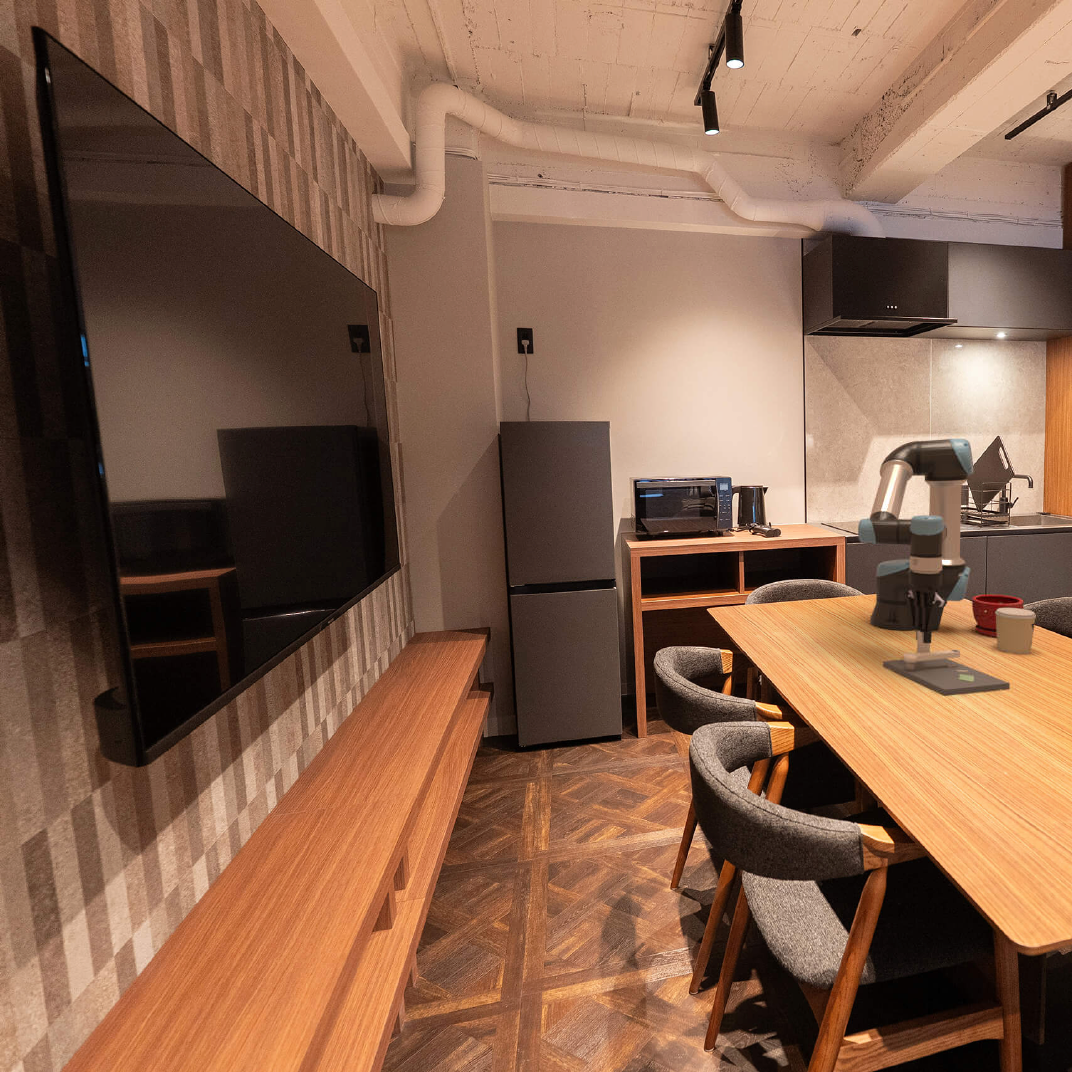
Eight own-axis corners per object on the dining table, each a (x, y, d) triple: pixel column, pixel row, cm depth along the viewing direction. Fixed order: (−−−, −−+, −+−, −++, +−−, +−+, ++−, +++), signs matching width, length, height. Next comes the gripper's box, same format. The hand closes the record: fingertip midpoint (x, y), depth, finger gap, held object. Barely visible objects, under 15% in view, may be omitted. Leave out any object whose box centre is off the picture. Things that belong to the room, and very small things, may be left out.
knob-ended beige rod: (909, 663, 156) (909, 657, 156) (900, 659, 159) (900, 653, 159) (962, 658, 158) (963, 652, 157) (953, 654, 161) (953, 648, 160)
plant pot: (974, 626, 198) (976, 592, 197) (1024, 632, 189) (1026, 596, 188) (967, 635, 189) (969, 599, 188) (1019, 642, 180) (1021, 604, 179)
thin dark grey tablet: (882, 666, 166) (883, 653, 165) (939, 660, 168) (940, 648, 167) (944, 695, 144) (945, 680, 144) (1009, 688, 146) (1010, 674, 145)
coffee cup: (1041, 655, 168) (1043, 615, 166) (1005, 654, 170) (1006, 615, 168) (1021, 645, 177) (1023, 607, 176) (987, 644, 179) (988, 607, 177)
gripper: (895, 568, 165) (894, 647, 168) (931, 576, 152) (929, 661, 155) (920, 566, 166) (918, 645, 169) (957, 574, 153) (954, 659, 156)
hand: (923, 653), depth 162 cm, fingers closed
